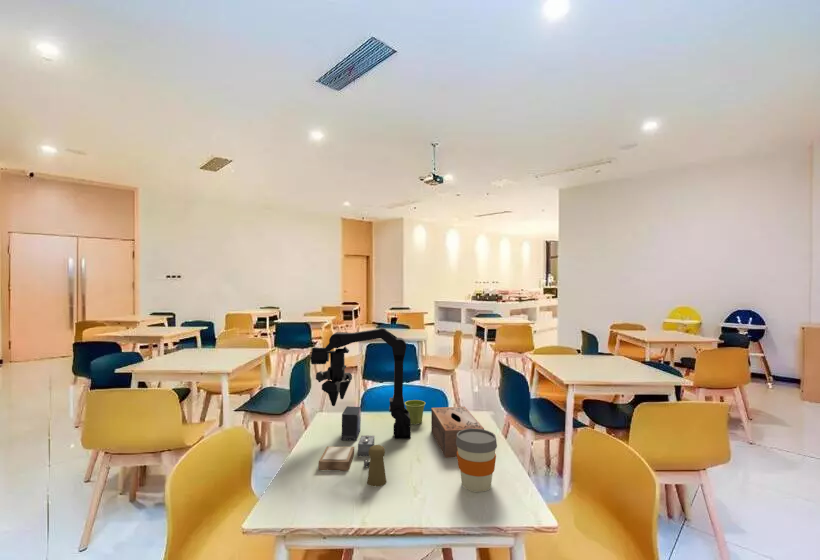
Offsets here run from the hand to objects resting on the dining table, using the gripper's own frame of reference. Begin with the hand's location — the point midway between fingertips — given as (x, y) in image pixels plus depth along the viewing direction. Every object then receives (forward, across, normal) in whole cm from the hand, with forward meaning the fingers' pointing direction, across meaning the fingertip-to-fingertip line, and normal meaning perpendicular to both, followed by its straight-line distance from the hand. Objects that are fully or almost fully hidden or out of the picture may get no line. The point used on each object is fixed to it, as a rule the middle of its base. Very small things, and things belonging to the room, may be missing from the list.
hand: (337, 402), depth 158 cm
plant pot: (+15, -23, +28) cm, 39 cm away
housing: (+14, +11, +15) cm, 24 cm away
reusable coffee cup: (+15, +27, +56) cm, 64 cm away
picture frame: (+14, +21, +8) cm, 27 cm away
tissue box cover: (+15, -4, +47) cm, 50 cm away
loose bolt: (+14, +21, +21) cm, 33 cm away
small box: (+14, -2, +5) cm, 15 cm away
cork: (+14, +32, +25) cm, 43 cm away
